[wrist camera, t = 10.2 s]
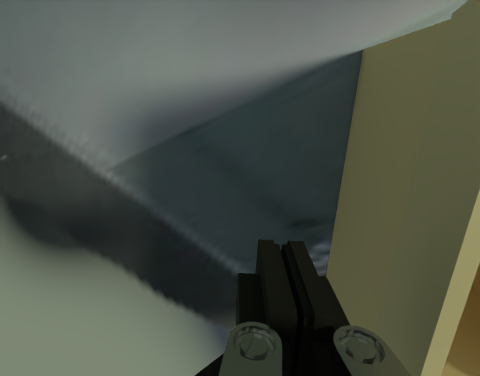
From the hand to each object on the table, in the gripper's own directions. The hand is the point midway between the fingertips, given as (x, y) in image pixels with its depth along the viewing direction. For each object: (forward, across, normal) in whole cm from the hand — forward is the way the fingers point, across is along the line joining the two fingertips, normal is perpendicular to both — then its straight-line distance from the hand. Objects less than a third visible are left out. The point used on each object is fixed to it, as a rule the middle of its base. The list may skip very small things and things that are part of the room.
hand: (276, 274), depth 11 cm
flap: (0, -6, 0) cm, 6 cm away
